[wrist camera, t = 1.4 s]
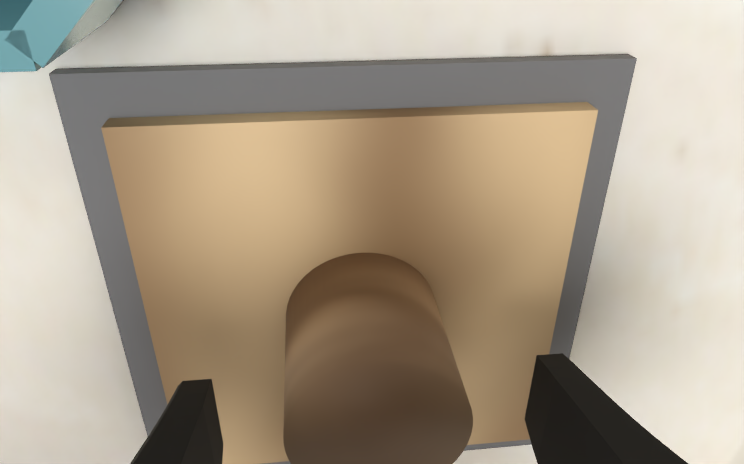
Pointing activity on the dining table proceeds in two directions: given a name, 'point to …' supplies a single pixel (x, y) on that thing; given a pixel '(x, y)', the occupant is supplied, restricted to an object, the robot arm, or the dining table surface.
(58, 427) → the dining table surface
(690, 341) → the dining table surface
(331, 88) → the rubber mat
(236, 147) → the oak lid
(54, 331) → the dining table surface
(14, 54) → the teal bowl
